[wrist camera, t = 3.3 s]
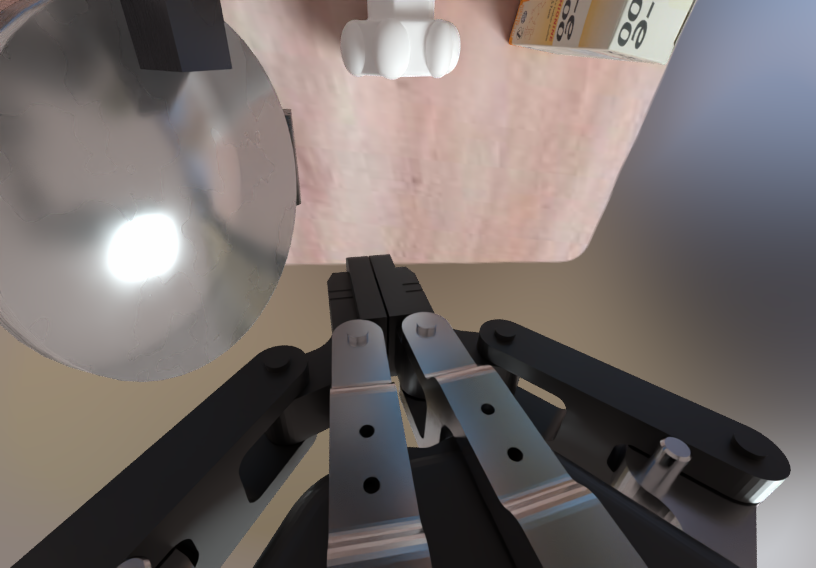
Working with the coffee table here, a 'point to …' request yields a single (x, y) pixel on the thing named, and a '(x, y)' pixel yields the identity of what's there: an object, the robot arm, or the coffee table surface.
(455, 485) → the robot arm
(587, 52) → the supplement box
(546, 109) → the coffee table surface
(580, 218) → the coffee table surface
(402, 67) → the white bone
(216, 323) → the cooker lid
